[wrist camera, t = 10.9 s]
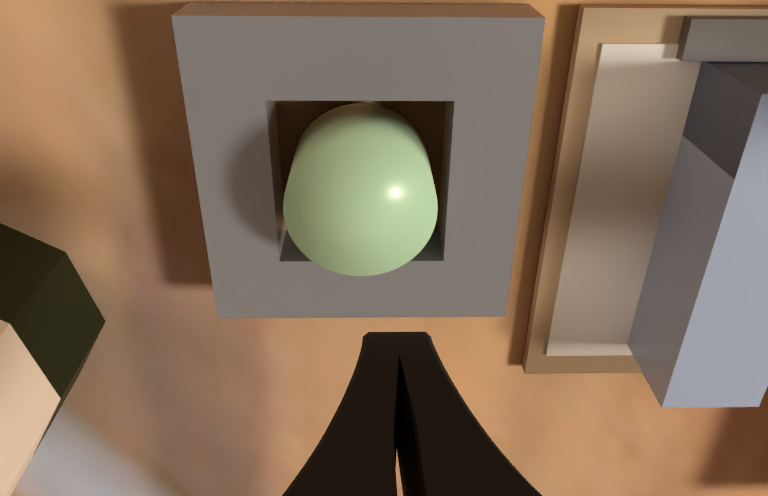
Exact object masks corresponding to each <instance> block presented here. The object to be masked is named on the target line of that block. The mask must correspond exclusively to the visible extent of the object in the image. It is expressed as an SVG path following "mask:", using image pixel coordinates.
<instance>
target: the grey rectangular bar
mask: <svg viewBox="0 0 768 496" xmlns="http://www.w3.org/2000/svg"><path fill="white" fill-rule="evenodd" d="M627 345H628V347H629V349H630V351H631V353H632V354H633V356H634V358H635V360H636V362H637V364H638V365H639V367H640V369H641V371H642V373H643V375H644V376H645V378H646V380H647V382H648V384H649V385H650V387H651V389H652V391H653V393H654V395H655V396H656V398H657V400H658V402H659V404H660V405H661V407H662V408H691V407H759V405H760V403H761V401H762V398H763V396H764V394H765V391H766V389H767V387H768V62H712V61H702V62H701V66H700V69H699V73H698V77H697V81H696V84H695V88H694V92H693V96H692V100H691V103H690V107H689V111H688V115H687V119H686V122H685V126H684V130H683V134H682V138H681V141H680V145H679V149H678V153H677V157H676V160H675V164H674V168H673V172H672V176H671V179H670V183H669V187H668V191H667V195H666V198H665V202H664V206H663V210H662V214H661V217H660V221H659V225H658V229H657V233H656V236H655V240H654V244H653V248H652V252H651V255H650V259H649V263H648V267H647V271H646V274H645V278H644V282H643V286H642V290H641V293H640V297H639V301H638V305H637V308H636V312H635V316H634V320H633V324H632V327H631V331H630V335H629V339H628V343H627Z"/></svg>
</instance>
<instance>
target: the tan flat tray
mask: <svg viewBox="0 0 768 496" xmlns="http://www.w3.org/2000/svg"><path fill="white" fill-rule="evenodd" d="M702 61H712V62H768V6H710V5H579V9H578V16H577V22H576V28H575V35H574V41H573V47H572V53H571V60H570V66H569V72H568V79H567V85H566V91H565V98H564V104H563V110H562V117H561V123H560V129H559V136H558V142H557V148H556V154H555V161H554V167H553V173H552V180H551V186H550V192H549V199H548V205H547V211H546V218H545V224H544V230H543V237H542V243H541V249H540V256H539V262H538V268H537V274H536V281H535V287H534V293H533V300H532V306H531V312H530V319H529V325H528V331H527V338H526V344H525V350H524V357H523V363H522V367H523V370H524V373H525V374H547V373H642V371H641V369H640V367H639V365H638V364H637V362H636V360H635V358H634V356H633V354H632V353H631V351H630V349H629V347H628V345H627V343H628V339H629V335H630V331H631V327H632V324H633V320H634V316H635V312H636V308H637V305H638V301H639V297H640V293H641V290H642V286H643V282H644V278H645V274H646V271H647V267H648V263H649V259H650V255H651V252H652V248H653V244H654V240H655V236H656V233H657V229H658V225H659V221H660V217H661V214H662V210H663V206H664V202H665V198H666V195H667V191H668V187H669V183H670V179H671V176H672V172H673V168H674V164H675V160H676V157H677V153H678V149H679V145H680V141H681V138H682V134H683V130H684V126H685V122H686V119H687V115H688V111H689V107H690V103H691V100H692V96H693V92H694V88H695V84H696V81H697V77H698V73H699V69H700V66H701V62H702Z"/></svg>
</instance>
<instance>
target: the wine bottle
mask: <svg viewBox="0 0 768 496" xmlns="http://www.w3.org/2000/svg"><path fill="white" fill-rule="evenodd" d="M104 323H105V320H104V318H103V316H102V315H101V313H100V311H99V309H98V308H97V306H96V304H95V302H94V301H93V299H92V297H91V296H90V294H89V292H88V290H87V289H86V287H85V285H84V283H83V282H82V280H81V278H80V276H79V275H78V273H77V271H76V270H75V268H74V266H73V264H72V263H71V261H70V259H69V257H68V256H67V254H66V252H64V251H61V250H59V249H57V248H55V247H52V246H50V245H48V244H46V243H43V242H41V241H39V240H37V239H34V238H32V237H30V236H27V235H25V234H23V233H21V232H18V231H16V230H14V229H12V228H9V227H7V226H5V225H3V224H0V496H10V495H11V494H12V492H13V490H14V488H15V487H16V485H17V483H18V481H19V480H20V478H21V476H22V474H23V472H24V471H25V469H26V467H27V465H28V464H29V462H30V460H31V458H32V457H33V455H34V453H35V451H36V450H37V448H38V446H39V444H40V442H41V441H42V439H43V437H44V435H45V434H46V432H47V430H48V428H49V427H50V425H51V423H52V421H53V420H54V418H55V416H56V414H57V413H58V411H59V409H60V407H61V405H62V404H63V402H64V400H65V398H66V397H67V395H68V393H69V391H70V390H71V388H72V386H73V384H74V383H75V381H76V379H77V377H78V376H79V374H80V371H81V369H82V367H83V365H84V363H85V361H86V359H87V357H88V355H89V353H90V351H91V349H92V347H93V345H94V343H95V341H96V339H97V337H98V335H99V333H100V331H101V329H102V327H103V325H104Z"/></svg>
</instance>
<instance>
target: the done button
mask: <svg viewBox="0 0 768 496" xmlns="http://www.w3.org/2000/svg"><path fill="white" fill-rule="evenodd" d="M437 213H438V202H437V196H436V191H435V186H434V181H433V177H432V172H431V167H430V163H429V158H428V153H427V150H426V147H425V144H424V142H423V140H422V138H421V136H420V135H419V133H418V132H417V130H416V129H415V128H414V127H413V125H412V124H411V123H410V122H408V121H407V120H406V119H405V118H404V117H402V116H401V115H399V114H398V113H396V112H394V111H392V110H390V109H388V108H385V107H382V106H379V105H374V104H365V103H356V104H348V105H343V106H340V107H336V108H334V109H331V110H329V111H327V112H325V113H324V114H322V115H321V116H319V117H318V118H317V119H315V120H314V121H313V122H312V123H311V124H310V125H309V126H308V127H307V129H306V130H305V131H304V133H303V134H302V136H301V138H300V140H299V142H298V144H297V147H296V151H295V154H294V158H293V162H292V166H291V170H290V174H289V178H288V182H287V186H286V190H285V194H284V201H283V214H284V220H285V224H286V227H287V230H288V232H289V234H290V236H291V238H292V240H293V241H294V243H295V245H296V246H297V247H298V248H299V249H300V251H301V252H302V253H303V254H304V255H305V256H307V257H308V258H309V259H310V260H312V261H313V262H314V263H316V264H317V265H319V266H321V267H323V268H325V269H327V270H330V271H332V272H336V273H339V274H343V275H349V276H373V275H379V274H383V273H386V272H390V271H392V270H394V269H397V268H399V267H401V266H402V265H404V264H406V263H407V262H409V261H410V260H411V259H413V258H414V257H415V256H416V255H417V254H418V253H419V252H420V251H421V250H422V249H423V248H424V246H425V245H426V244H427V242H428V240H429V239H430V237H431V235H432V233H433V230H434V228H435V224H436V221H437Z"/></svg>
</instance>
